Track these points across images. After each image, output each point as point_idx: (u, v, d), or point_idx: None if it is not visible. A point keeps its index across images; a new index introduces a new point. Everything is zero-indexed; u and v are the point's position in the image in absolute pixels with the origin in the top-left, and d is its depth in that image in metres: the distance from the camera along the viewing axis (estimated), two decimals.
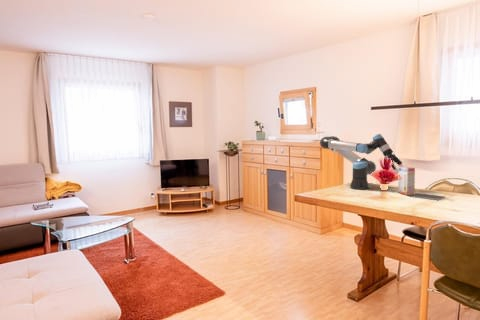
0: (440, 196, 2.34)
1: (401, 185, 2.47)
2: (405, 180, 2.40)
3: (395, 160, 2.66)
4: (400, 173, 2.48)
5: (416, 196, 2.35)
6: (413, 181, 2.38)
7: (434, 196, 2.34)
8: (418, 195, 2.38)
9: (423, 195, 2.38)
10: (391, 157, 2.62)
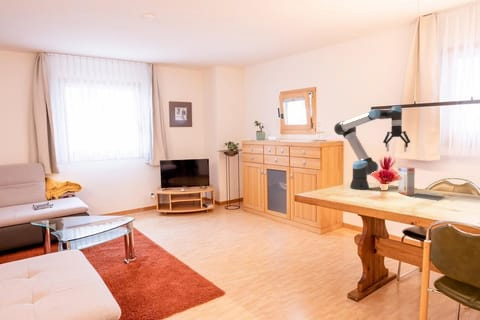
0: (440, 196, 2.34)
1: (400, 185, 2.47)
2: (405, 180, 2.40)
3: None
4: (400, 173, 2.48)
5: (416, 196, 2.35)
6: (413, 181, 2.38)
7: (434, 196, 2.34)
8: (418, 195, 2.38)
9: (423, 195, 2.38)
10: (391, 135, 2.59)
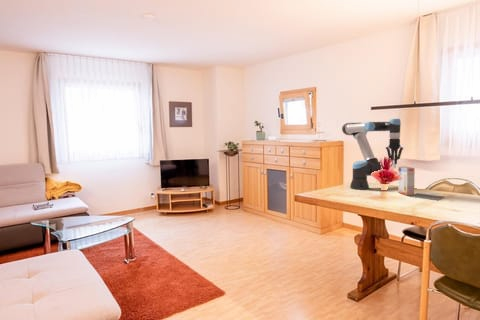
0: (440, 196, 2.34)
1: (400, 185, 2.47)
2: (405, 180, 2.40)
3: None
4: (400, 173, 2.48)
5: (416, 196, 2.35)
6: (413, 181, 2.38)
7: (434, 196, 2.34)
8: (418, 195, 2.38)
9: (423, 195, 2.38)
10: (391, 149, 2.50)
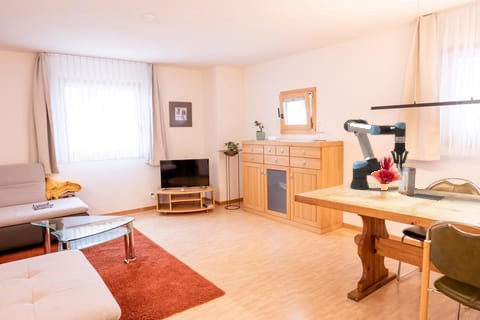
0: (440, 196, 2.34)
1: (401, 185, 2.47)
2: (406, 180, 2.40)
3: None
4: (401, 173, 2.48)
5: (416, 196, 2.35)
6: (414, 181, 2.38)
7: (434, 196, 2.34)
8: (418, 195, 2.38)
9: (423, 195, 2.38)
10: (396, 153, 2.47)
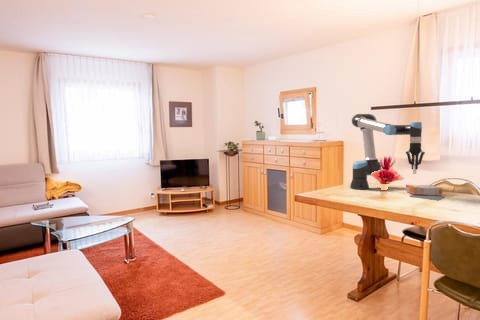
0: (440, 196, 2.34)
1: (416, 185, 2.48)
2: (427, 187, 2.41)
3: None
4: (427, 185, 2.49)
5: (416, 196, 2.35)
6: (428, 193, 2.38)
7: (434, 196, 2.34)
8: (418, 195, 2.38)
9: (423, 195, 2.38)
10: (411, 153, 2.39)
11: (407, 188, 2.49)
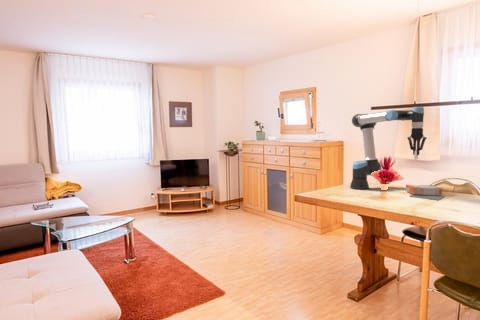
0: (440, 196, 2.34)
1: (416, 185, 2.48)
2: (427, 187, 2.41)
3: None
4: (427, 185, 2.49)
5: (416, 196, 2.35)
6: (428, 193, 2.38)
7: (434, 196, 2.34)
8: (418, 195, 2.38)
9: (423, 195, 2.38)
10: (413, 139, 2.38)
11: (407, 188, 2.49)
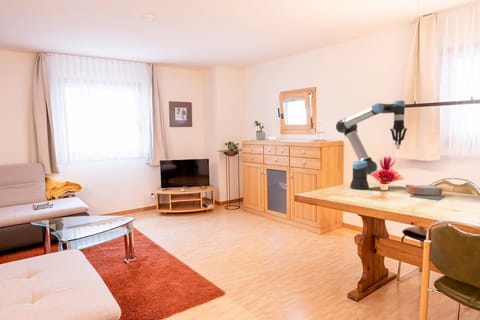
0: (440, 196, 2.34)
1: (416, 185, 2.48)
2: (427, 187, 2.41)
3: None
4: (427, 185, 2.49)
5: (416, 196, 2.35)
6: (428, 193, 2.38)
7: (434, 196, 2.34)
8: (418, 195, 2.38)
9: (423, 195, 2.38)
10: (395, 130, 2.58)
11: (407, 188, 2.49)
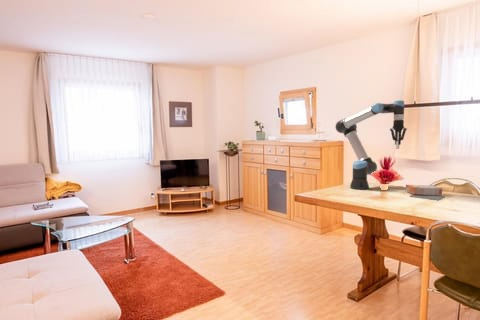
0: (440, 196, 2.34)
1: (416, 185, 2.48)
2: (427, 187, 2.41)
3: None
4: (427, 185, 2.49)
5: (416, 196, 2.35)
6: (428, 193, 2.38)
7: (434, 196, 2.34)
8: (418, 195, 2.38)
9: (423, 195, 2.38)
10: (395, 130, 2.58)
11: (407, 188, 2.49)
